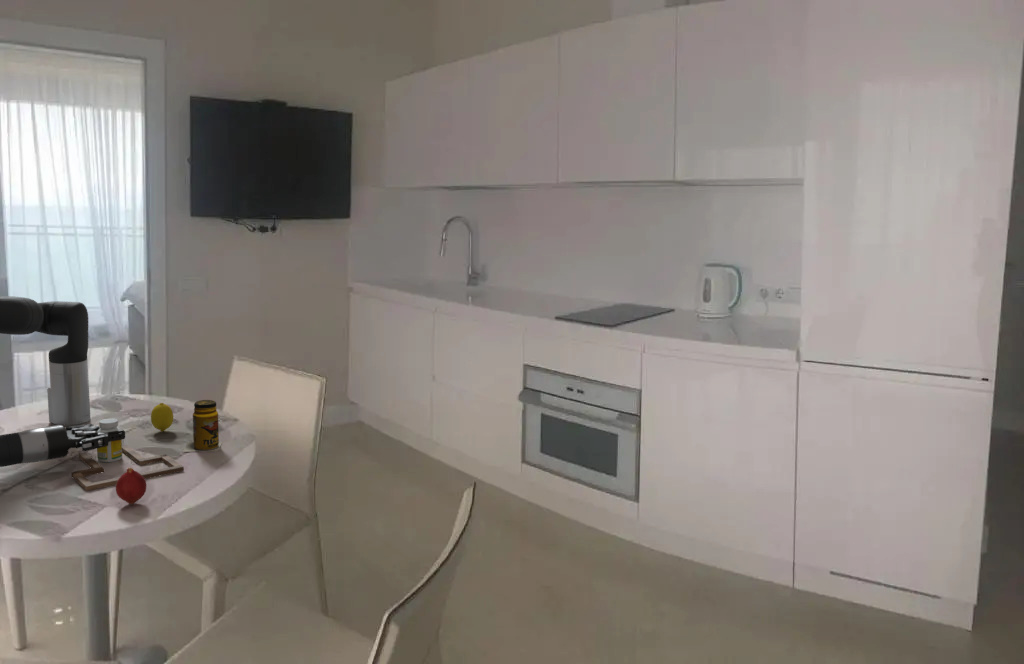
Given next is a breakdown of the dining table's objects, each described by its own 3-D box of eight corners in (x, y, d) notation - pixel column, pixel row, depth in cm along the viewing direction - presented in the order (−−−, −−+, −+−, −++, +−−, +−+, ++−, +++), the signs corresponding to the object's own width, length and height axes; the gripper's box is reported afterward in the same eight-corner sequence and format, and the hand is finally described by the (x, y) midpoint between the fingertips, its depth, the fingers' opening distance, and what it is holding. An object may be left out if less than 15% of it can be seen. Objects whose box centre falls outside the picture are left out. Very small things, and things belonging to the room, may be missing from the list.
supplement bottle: (96, 463, 192) (95, 424, 190) (97, 456, 196) (96, 418, 195) (122, 461, 194) (120, 423, 192) (122, 454, 199) (121, 416, 197)
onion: (123, 498, 172) (121, 462, 171) (151, 498, 173) (149, 462, 171) (112, 509, 166) (110, 472, 165) (141, 509, 167) (139, 472, 166)
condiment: (218, 451, 204) (217, 405, 202) (182, 452, 202) (181, 406, 200) (222, 442, 211) (221, 397, 209) (187, 443, 209) (186, 398, 207)
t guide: (55, 461, 192) (55, 457, 192) (147, 445, 206) (147, 441, 206) (86, 490, 175) (86, 486, 175) (183, 470, 190) (183, 466, 189)
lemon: (177, 429, 220) (176, 400, 219) (167, 435, 215) (166, 406, 213) (158, 427, 221) (157, 399, 219) (147, 433, 215) (146, 404, 214)
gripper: (49, 436, 178) (130, 423, 190) (32, 420, 189) (109, 409, 200) (51, 468, 180) (131, 453, 191) (34, 451, 190) (111, 438, 202)
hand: (120, 431), depth 196 cm, fingers closed on supplement bottle, 5 cm apart
